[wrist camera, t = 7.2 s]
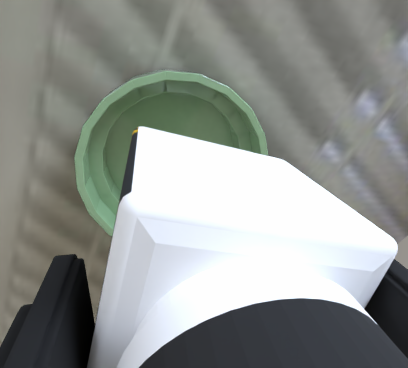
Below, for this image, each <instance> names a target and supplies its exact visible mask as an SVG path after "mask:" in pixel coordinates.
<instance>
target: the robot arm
mask: <svg viewBox="0 0 408 368" xmlns="http://www.w3.org/2000/svg"><path fill="white" fill-rule="evenodd" d="M364 310H365V311H366V312H367V313H368V314H369V315H370V316H371V318H372V319H373V320H374V321H375V322H376V323H377V324H378V326H379V327H380V328H381V329H382V330H383V331H384V332H385V333H386V335H387V336H388V337H389V338H390V339H391V340H392V341H393V343H394V344H395V345H396V346H397V347H398V348H399V349H400V351H401V352H402V353H403V354H404V355H405V356H406V357H407V358H408V269H406V268H405V267H404V266H402V265H401V264H400V263H399V262H397V261H396V260H395V259H394V260H393V262H392V263H391V265H390V267H389V268H388V270H387V272H386V273H385V275H384V277H383V278H382V280H381V282H380V283H379V285H378V287H377V289H376V290H375V292H374V294H373V295H372V297H371V299H370V300H369V302H368V304H367V305H366V307H365V309H364ZM94 328H95V323H94V317H93V311H92V305H91V299H90V293H89V287H88V281H87V276H86V270H85V264H84V260H83V259H82V258H81V259H78V258H77V256H76V255H75V254H72V255H61V256H55V257H54V259H53V261H52V263H51V265H50V267H49V270H48V272H47V274H46V276H45V278H44V280H43V282H42V285H41V287H40V289H39V291H38V293H37V295H36V298H35V300H34V302H33V304H29V305H24V306H22V307H21V308H20V310H19V311H18V313H17V315H16V317H15V319H14V321H13V323H12V325H11V327H10V329H9V331H8V333H7V335H6V337H5V339H4V341H3V343H2V345H1V347H0V368H87V364H88V359H89V354H90V349H91V344H92V338H93V333H94Z"/></svg>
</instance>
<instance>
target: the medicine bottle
mask: <svg viewBox="0 0 408 368" xmlns="http://www.w3.org/2000/svg"><path fill="white" fill-rule="evenodd" d="M397 250H398V246H397V243H396V241H395V240H394V239H393V238H392V237H391V236H390V235H388V234H387V233H385V232H384V231H383V230H381V229H380V228H378V227H377V226H376V225H374V224H373V223H371V222H370V221H369V220H367V219H366V218H364V217H363V216H362V215H360V214H359V213H357V212H356V211H355V210H353V209H352V208H350V207H349V206H348V205H346V204H345V203H343V202H342V201H341V200H339V199H338V198H336V197H335V196H334V195H332V194H331V193H329V192H328V191H327V190H325V189H324V188H322V187H321V186H320V185H318V184H317V183H315V182H314V181H313V180H311V179H310V178H308V177H307V176H306V175H304V174H303V173H301V172H300V171H299V170H297V169H296V168H294V167H293V166H292V165H290V164H289V163H287V162H286V161H284V160H283V159H278V158H274V157H270V156H266V155H262V154H257V153H253V152H249V151H245V150H240V149H236V148H232V147H228V146H224V145H219V144H215V143H211V142H207V141H203V140H198V139H194V138H190V137H186V136H181V135H177V134H173V133H169V132H165V131H160V130H156V129H152V128H148V127H137V128H136V129H134V131H133V133H132V138H131V143H130V148H129V153H128V158H127V163H126V168H125V174H124V179H123V184H122V189H121V194H120V199H119V204H118V209H117V214H116V220H115V225H114V230H113V235H112V240H111V245H110V250H109V255H108V260H107V266H106V271H105V276H104V281H103V286H102V291H101V297H100V302H99V307H98V312H97V317H96V323H95V328H94V333H93V338H92V344H91V349H90V354H89V359H88V364H87V368H408V358H407V357H406V356H405V355H404V354H403V353H402V352H401V351H400V349H399V348H398V347H397V346H396V345H395V344H394V343H393V341H392V340H391V339H390V338H389V337H388V336H387V335H386V333H385V332H384V331H383V330H382V329H381V328H380V327H379V326H378V324H377V323H376V322H375V321H374V320H373V319H372V318H371V316H370V315H369V314H368V313H367V312H366V311H365V310H364V309H365V307H366V305H367V304H368V302H369V300H370V299H371V297H372V295H373V294H374V292H375V290H376V289H377V287H378V285H379V283H380V282H381V280H382V278H383V277H384V275H385V273H386V272H387V270H388V268H389V267H390V265H391V263H392V262H393V260H394V258H395V256H396V254H397Z"/></svg>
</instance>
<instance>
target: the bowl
mask: <svg viewBox="0 0 408 368" xmlns="http://www.w3.org/2000/svg"><path fill="white" fill-rule="evenodd" d="M137 127H148V128H152V129H156V130H160V131H165V132H169V133H173V134H177V135H181V136H186V137H190V138H194V139H198V140H203V141H207V142H211V143H215V144H219V145H224V146H228V147H232V148H236V149H240V150H245V151H249V152H253V153H257V154H262V155H266V156H268V152H267V145H266V138H265V133H264V131H263V130H262V128H261V126H260V124H259V122H258V120H257V118H256V116H255V114H254V112H253V110H252V109H251V107H250V106H249V105H248V104H247V103H245V102H244V101H243V100H242V99H241V98H240V97H239V96H238V95H237V94H236V93H235V92H234V91H233V90H232V89H231V88H229V87H228V86H226V85H223V84H221V83H219V82H217V81H215V80H212V79H210V78H208V77H206V76H203V75H201V74H198V73H193V72H189V71H177V70H165V69H162V70H157V71H153V72H149V73H145V74H141V75H137V76H134V77H132V78H131V79H129V80H128V81H126V82H125V83H123V84H122V85H120V86H119V87H117V88H116V89H114V90H113V91H111V92H110V93H109V94H108V95H107V96H106V97H105V98H103V99H102V100H101V102H100V103H99V105H98V106H97V107H96V109H95V110H94V112H93V113H92V114H91V116H90V117H89V118H88V120H87V121H86V123H85V124H84V125H83V127H82V131H81V134H80V138H79V141H78V145H77V149H76V152H75V156H74V157H75V158H74V162H75V173H76V184H77V189H78V192H79V194H80V196H81V198H82V200H83V202H84V204H85V207H86V209H87V211H88V213H89V214H90V216H91V217H92V218H93V219H94V220H95V221H96V222H97V223H98V224H99V225H100V226H101V227H102V228H103V229H104V230H105V231H106V232H107V233H108V234H109V235H110V236H112V235H113V230H114V225H115V220H116V214H117V209H118V204H119V199H120V194H121V189H122V184H123V179H124V174H125V168H126V163H127V158H128V153H129V148H130V143H131V138H132V133H133V131H134V129H136V128H137Z"/></svg>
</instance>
